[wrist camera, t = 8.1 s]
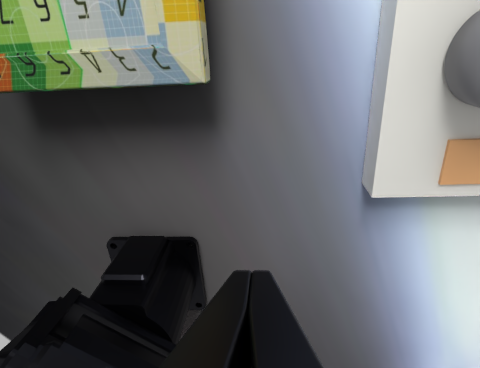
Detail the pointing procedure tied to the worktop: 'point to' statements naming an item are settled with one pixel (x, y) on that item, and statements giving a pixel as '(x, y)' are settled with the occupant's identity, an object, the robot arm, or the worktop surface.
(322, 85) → the worktop surface
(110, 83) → the puzzle game
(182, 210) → the worktop surface
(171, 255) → the robot arm
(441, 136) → the button board
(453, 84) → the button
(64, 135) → the worktop surface
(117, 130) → the worktop surface
